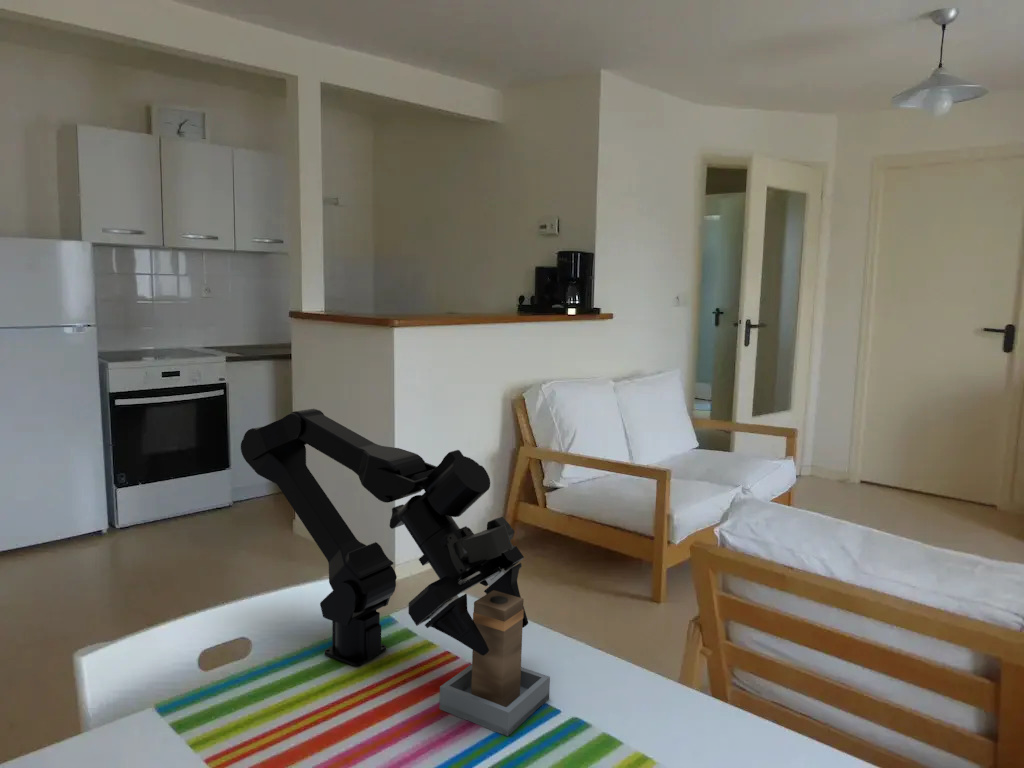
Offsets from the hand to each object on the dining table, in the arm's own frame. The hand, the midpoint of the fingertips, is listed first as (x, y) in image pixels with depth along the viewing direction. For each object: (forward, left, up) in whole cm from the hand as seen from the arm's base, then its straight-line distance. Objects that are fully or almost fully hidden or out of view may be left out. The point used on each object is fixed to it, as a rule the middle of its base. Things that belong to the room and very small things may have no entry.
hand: (506, 639), depth 93 cm
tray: (-1, 0, -9) cm, 9 cm away
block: (-1, 0, -8) cm, 8 cm away
